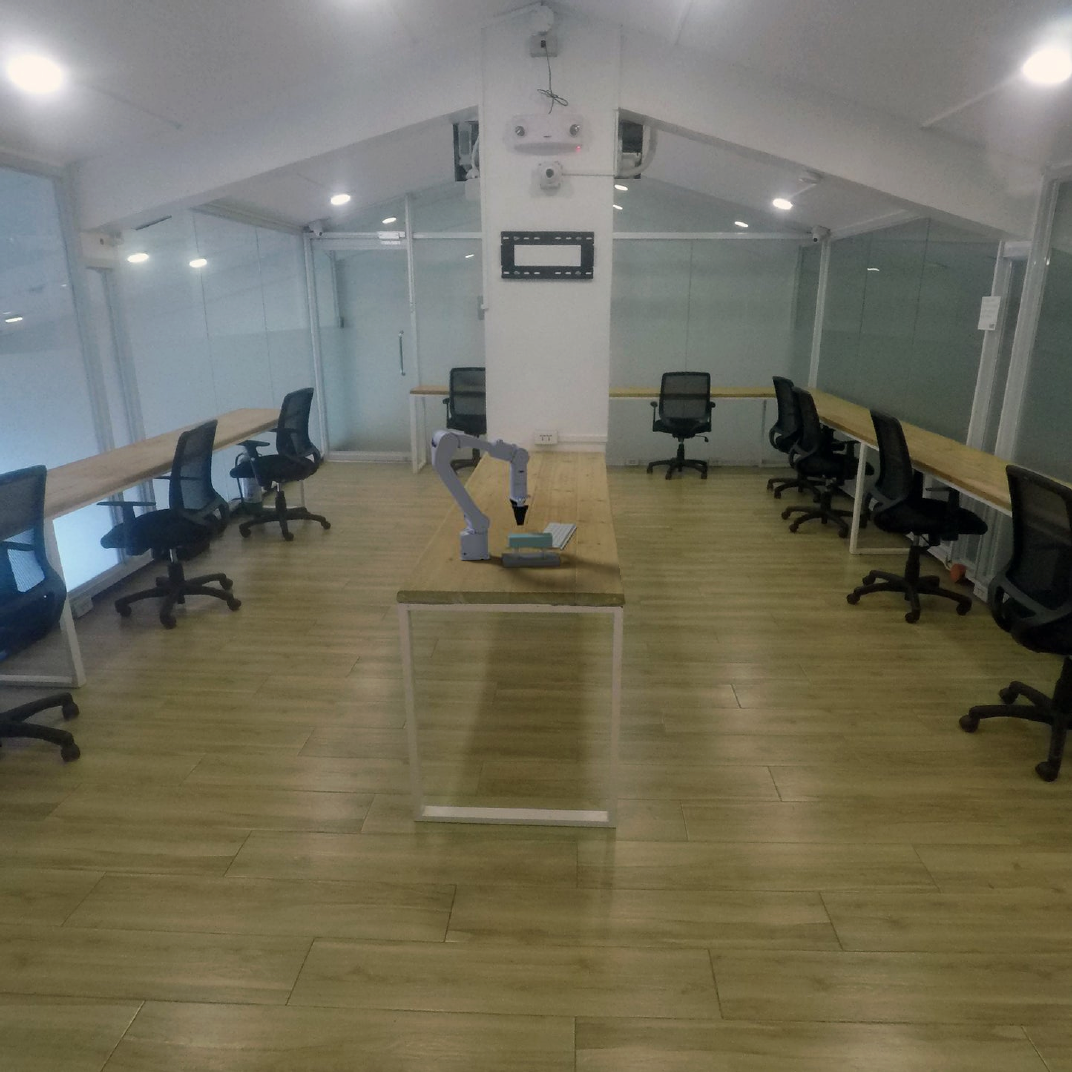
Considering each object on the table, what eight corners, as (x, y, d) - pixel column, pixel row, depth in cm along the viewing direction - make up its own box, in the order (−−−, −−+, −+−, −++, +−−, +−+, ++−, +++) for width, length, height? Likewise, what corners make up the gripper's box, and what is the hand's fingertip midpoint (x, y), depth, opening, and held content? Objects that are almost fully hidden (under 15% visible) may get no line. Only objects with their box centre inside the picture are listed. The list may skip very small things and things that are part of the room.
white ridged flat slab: (581, 528, 286) (550, 526, 289) (581, 520, 286) (550, 519, 288) (566, 552, 258) (532, 549, 260) (566, 544, 257) (532, 541, 259)
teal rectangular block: (509, 548, 241) (509, 537, 240) (508, 544, 246) (508, 533, 245) (552, 547, 243) (552, 536, 242) (550, 542, 247) (550, 532, 246)
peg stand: (503, 567, 240) (503, 550, 238) (501, 557, 250) (501, 541, 248) (559, 565, 242) (559, 549, 240) (555, 556, 251) (555, 540, 250)
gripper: (532, 487, 243) (533, 527, 247) (528, 477, 256) (528, 516, 260) (511, 487, 242) (511, 528, 246) (507, 478, 256) (508, 516, 260)
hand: (519, 522), depth 253 cm, fingers open, 7 cm apart
